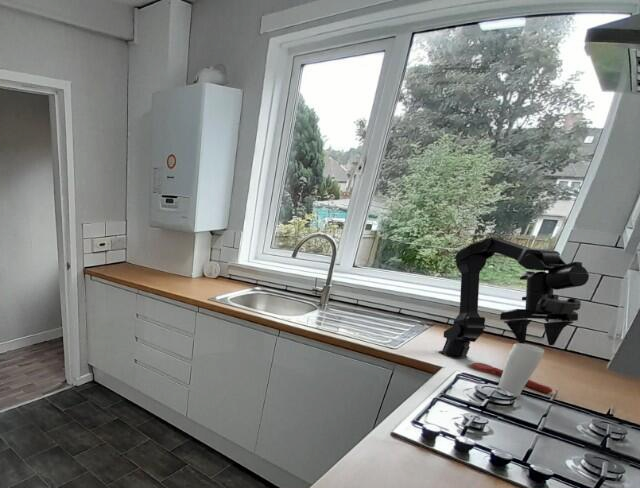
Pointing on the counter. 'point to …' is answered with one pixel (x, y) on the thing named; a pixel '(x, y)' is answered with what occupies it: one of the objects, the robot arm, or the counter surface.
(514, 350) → the drinking glass
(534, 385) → the red long flat piece
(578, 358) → the counter surface
